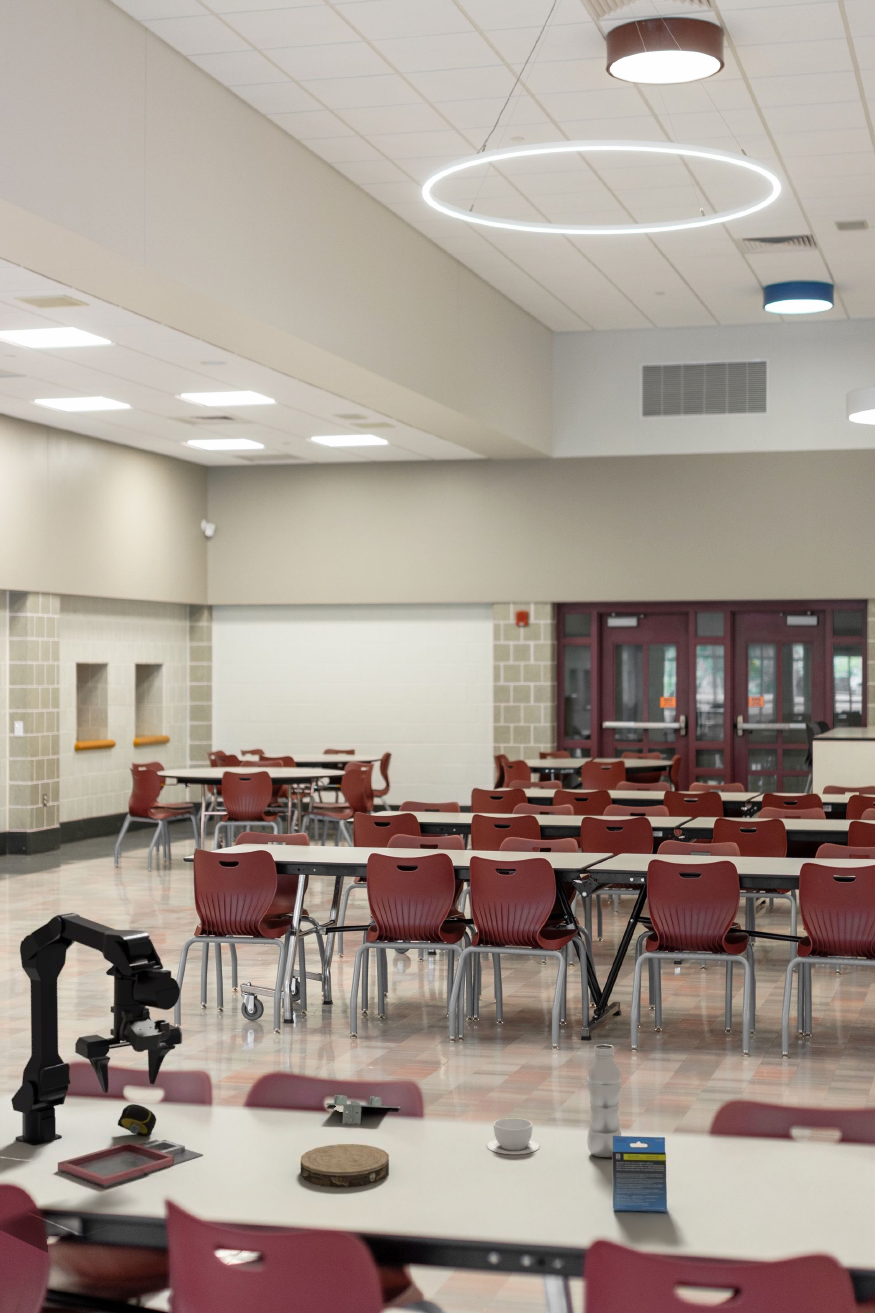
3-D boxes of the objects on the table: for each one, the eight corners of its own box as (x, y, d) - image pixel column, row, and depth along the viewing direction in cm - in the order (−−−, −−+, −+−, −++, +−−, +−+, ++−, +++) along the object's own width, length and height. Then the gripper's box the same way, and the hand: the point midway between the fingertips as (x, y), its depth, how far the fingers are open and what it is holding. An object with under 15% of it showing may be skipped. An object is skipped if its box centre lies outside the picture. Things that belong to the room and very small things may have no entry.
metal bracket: (388, 1097, 289) (315, 1094, 292) (387, 1128, 287) (313, 1124, 290) (402, 1098, 303) (331, 1095, 305) (400, 1128, 301) (330, 1124, 303)
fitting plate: (57, 1171, 263) (57, 1163, 263) (155, 1143, 280) (155, 1134, 280) (104, 1188, 254) (104, 1179, 254) (203, 1158, 271) (203, 1149, 271)
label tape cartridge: (666, 1204, 245) (665, 1130, 245) (667, 1213, 241) (666, 1137, 241) (612, 1203, 246) (612, 1129, 246) (612, 1211, 242) (612, 1136, 242)
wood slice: (282, 1176, 261) (281, 1159, 261) (346, 1155, 273) (346, 1138, 273) (343, 1196, 250) (343, 1178, 251) (407, 1173, 262) (407, 1156, 262)
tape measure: (146, 1143, 283) (154, 1126, 286) (152, 1130, 278) (160, 1112, 281) (114, 1129, 283) (122, 1112, 285) (119, 1115, 278) (127, 1098, 280)
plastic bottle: (582, 1159, 268) (581, 1049, 269) (593, 1148, 275) (592, 1041, 275) (616, 1163, 266) (616, 1052, 267) (626, 1152, 272) (625, 1044, 273)
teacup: (523, 1160, 269) (523, 1134, 269) (477, 1151, 274) (476, 1126, 274) (549, 1146, 277) (548, 1121, 277) (503, 1137, 283) (503, 1113, 283)
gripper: (101, 1017, 254) (100, 1107, 253) (197, 1003, 265) (196, 1089, 265) (74, 1006, 262) (73, 1093, 262) (168, 992, 274) (167, 1076, 274)
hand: (129, 1088), depth 265 cm, fingers open, 9 cm apart
